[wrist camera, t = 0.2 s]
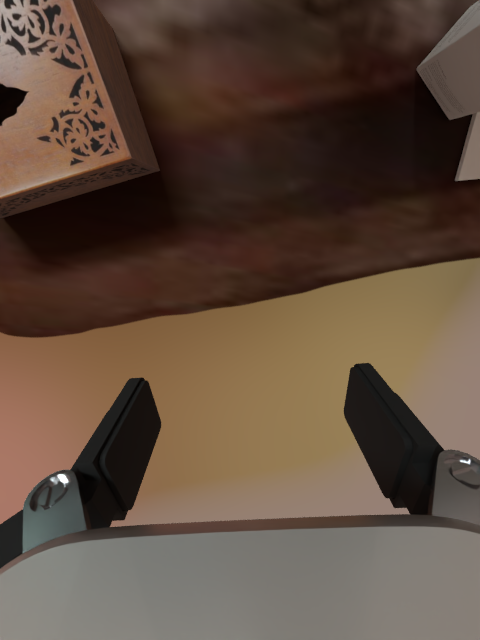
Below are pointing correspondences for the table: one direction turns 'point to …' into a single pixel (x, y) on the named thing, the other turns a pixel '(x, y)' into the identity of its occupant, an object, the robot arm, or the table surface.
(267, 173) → the table surface
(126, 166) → the tissue box cover
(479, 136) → the white flat piece
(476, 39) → the skincare box
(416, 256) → the table surface
